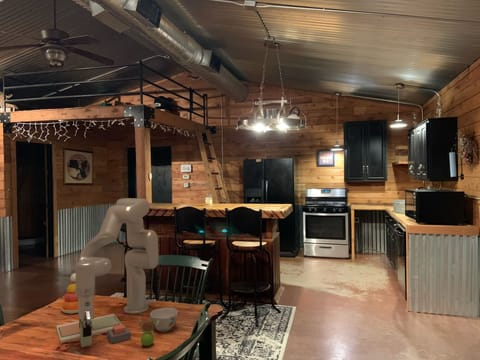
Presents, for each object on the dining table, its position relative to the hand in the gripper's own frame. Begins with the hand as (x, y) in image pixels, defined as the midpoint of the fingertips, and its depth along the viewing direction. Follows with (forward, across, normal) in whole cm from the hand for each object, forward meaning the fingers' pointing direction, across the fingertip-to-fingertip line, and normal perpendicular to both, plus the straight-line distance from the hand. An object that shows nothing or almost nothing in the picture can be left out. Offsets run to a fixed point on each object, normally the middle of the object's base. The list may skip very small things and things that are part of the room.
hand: (85, 332), depth 148 cm
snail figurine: (+5, -15, -22) cm, 27 cm away
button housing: (+5, -2, -14) cm, 15 cm away
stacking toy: (+5, +44, -2) cm, 45 cm away
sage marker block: (+5, 0, 0) cm, 5 cm away
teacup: (+5, -5, -32) cm, 33 cm away
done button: (+3, -2, -13) cm, 14 cm away
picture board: (+5, +16, -4) cm, 18 cm away
